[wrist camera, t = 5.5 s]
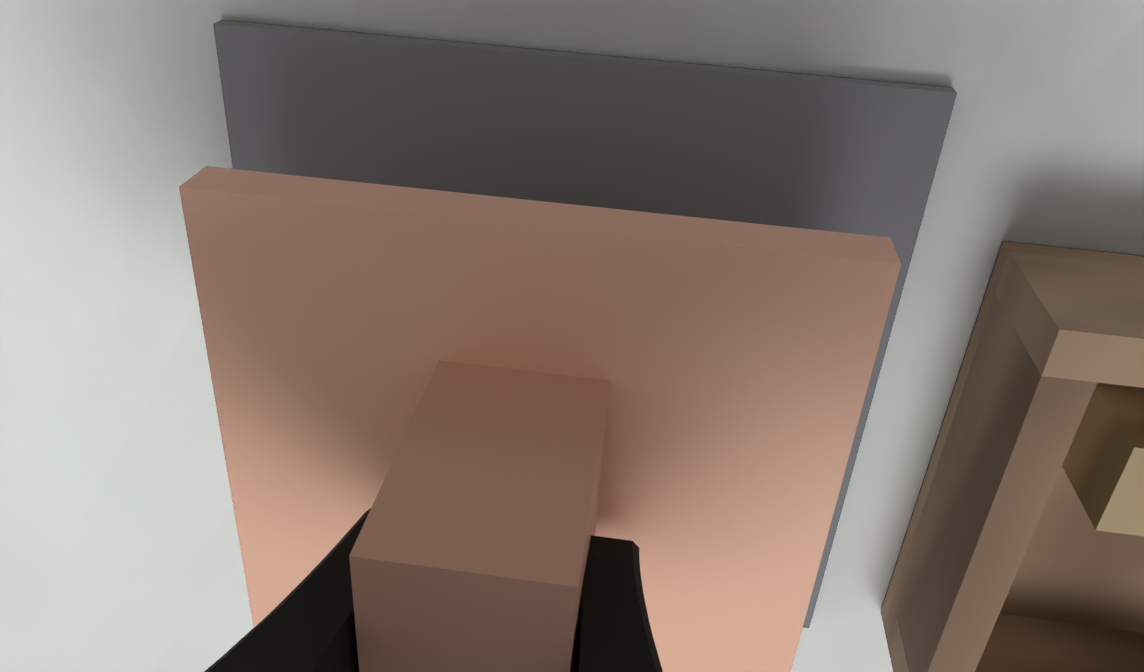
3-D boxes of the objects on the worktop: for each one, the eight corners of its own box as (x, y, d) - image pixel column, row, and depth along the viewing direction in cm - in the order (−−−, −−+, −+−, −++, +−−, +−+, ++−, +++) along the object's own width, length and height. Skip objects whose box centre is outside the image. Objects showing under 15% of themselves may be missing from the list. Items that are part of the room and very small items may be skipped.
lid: (883, 219, 13) (980, 459, 8) (768, 675, 18) (789, 981, 13) (224, 151, 14) (-17, 338, 9) (288, 607, 19) (152, 876, 14)
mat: (952, 87, 15) (956, 93, 14) (807, 617, 21) (808, 628, 21) (222, 20, 16) (213, 23, 15) (290, 547, 22) (285, 556, 22)
